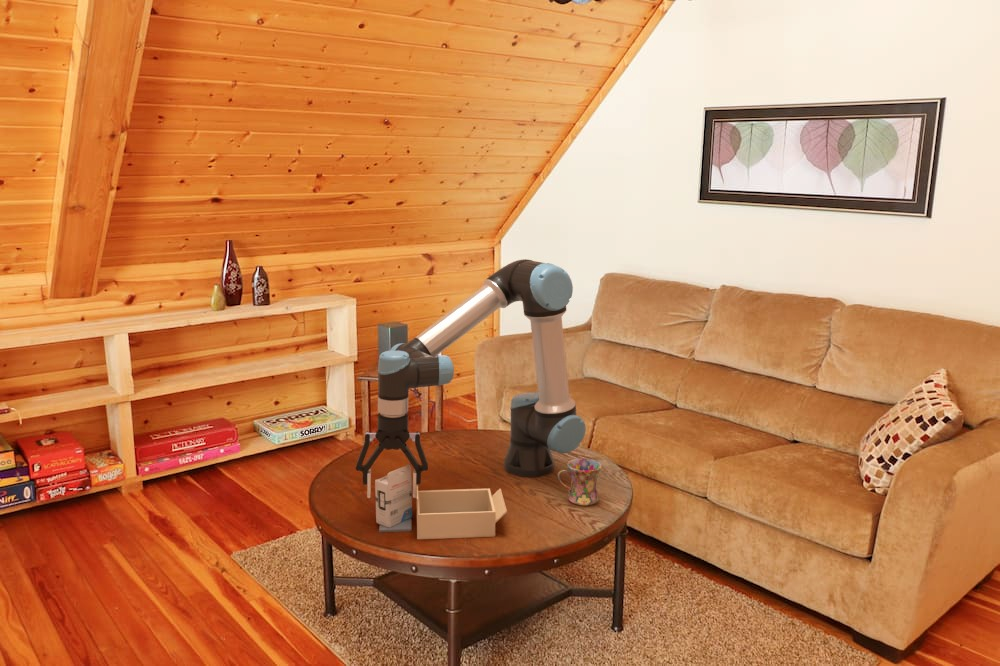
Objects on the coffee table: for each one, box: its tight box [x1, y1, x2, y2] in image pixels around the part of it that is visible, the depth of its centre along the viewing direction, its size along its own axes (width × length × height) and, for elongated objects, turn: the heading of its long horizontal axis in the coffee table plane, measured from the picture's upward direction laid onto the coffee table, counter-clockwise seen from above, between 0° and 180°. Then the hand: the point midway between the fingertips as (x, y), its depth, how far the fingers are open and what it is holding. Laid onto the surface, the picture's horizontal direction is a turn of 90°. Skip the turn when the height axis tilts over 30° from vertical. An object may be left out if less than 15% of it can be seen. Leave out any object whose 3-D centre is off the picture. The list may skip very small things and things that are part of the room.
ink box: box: [374, 463, 413, 528], centre depth 208 cm, size 8×5×15 cm, turn 141°
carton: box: [416, 484, 508, 540], centre depth 209 cm, size 22×17×10 cm
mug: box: [557, 458, 603, 506], centre depth 223 cm, size 12×9×11 cm
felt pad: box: [378, 517, 412, 533], centre depth 210 cm, size 8×11×1 cm
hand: (391, 495), depth 208 cm, fingers open, 11 cm apart
